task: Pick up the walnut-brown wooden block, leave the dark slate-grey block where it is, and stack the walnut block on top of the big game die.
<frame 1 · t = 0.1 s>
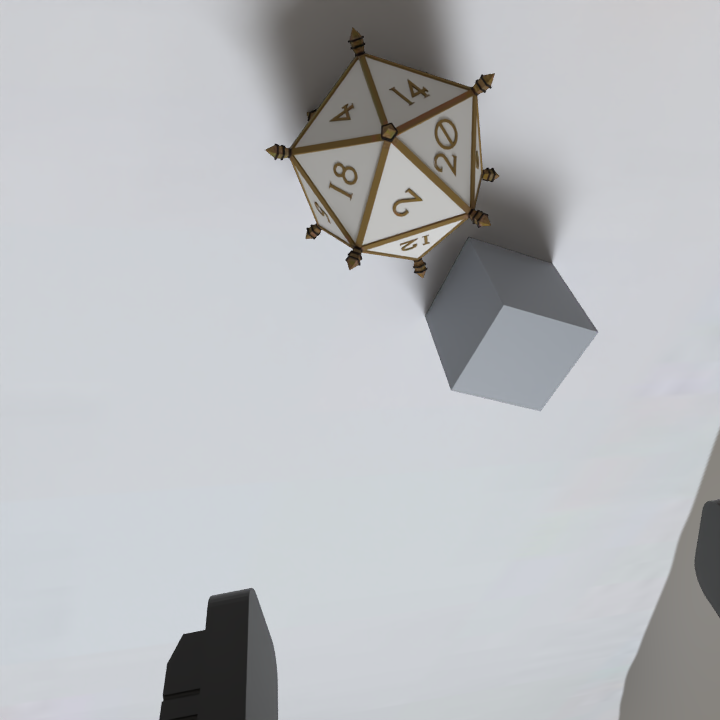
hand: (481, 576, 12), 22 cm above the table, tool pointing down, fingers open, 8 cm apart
slate block: (487, 290, 36), on the table
game die: (375, 125, 30), on the table
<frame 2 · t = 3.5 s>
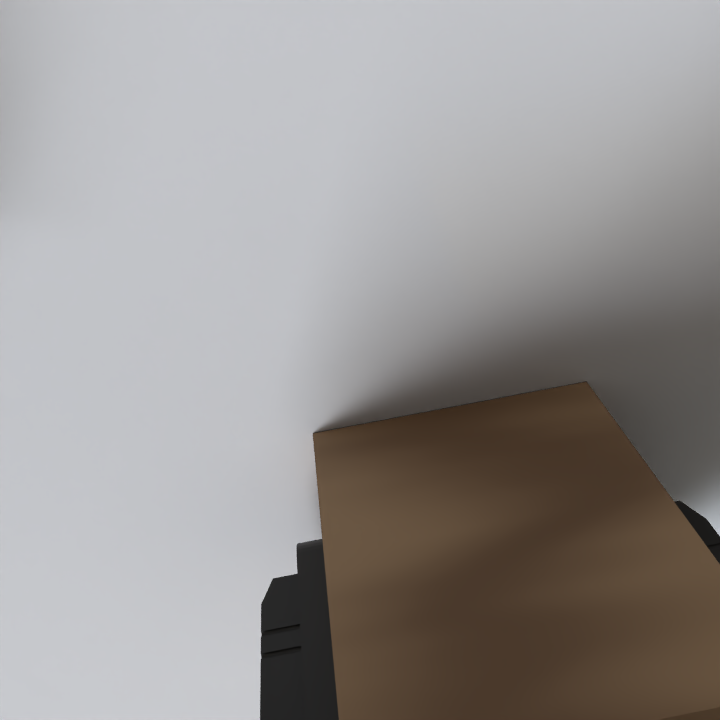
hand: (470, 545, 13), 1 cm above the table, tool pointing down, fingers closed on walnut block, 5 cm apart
walnut block: (459, 508, 14), on the table, touching gripper
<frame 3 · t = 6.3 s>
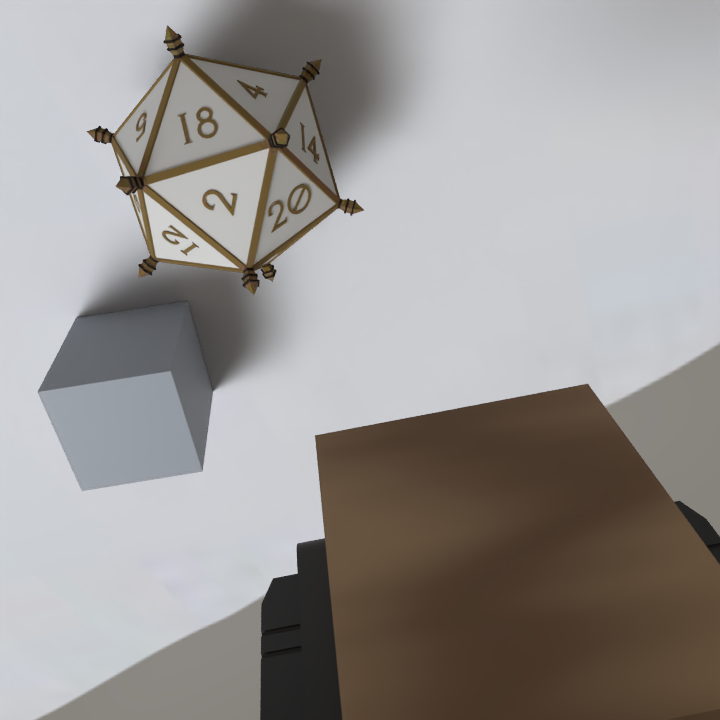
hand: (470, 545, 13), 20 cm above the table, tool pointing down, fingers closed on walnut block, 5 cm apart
slate block: (147, 355, 32), on the table
game die: (232, 142, 28), on the table
walnut block: (461, 510, 14), point 19 cm above the table, touching gripper
when the fingers open (10 cm above the table, at t = 9.2 s): walnut block drops 1 cm, resting on game die.
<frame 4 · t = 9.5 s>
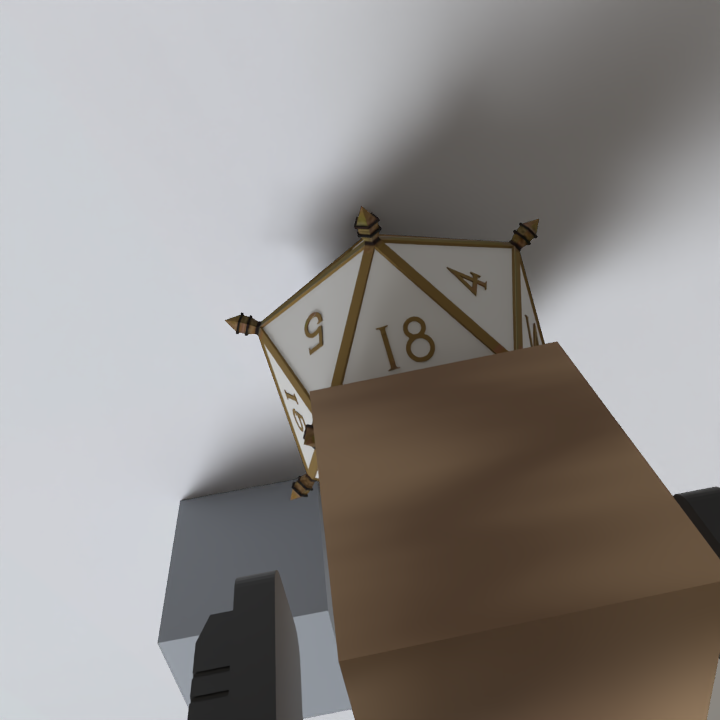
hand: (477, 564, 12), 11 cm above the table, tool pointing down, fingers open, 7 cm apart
slate block: (263, 535, 26), on the table
game die: (386, 296, 22), on the table, touching walnut block
walnut block: (445, 462, 15), point 8 cm above the table, touching game die
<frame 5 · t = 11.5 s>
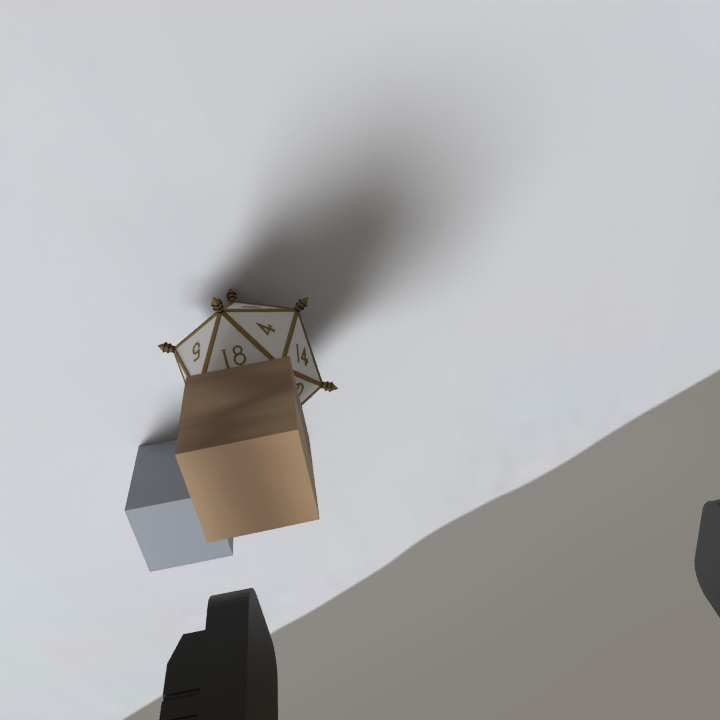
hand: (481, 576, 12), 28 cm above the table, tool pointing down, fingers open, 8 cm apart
slate block: (188, 468, 45), on the table
game die: (248, 331, 41), on the table, touching walnut block
walnut block: (250, 408, 34), point 8 cm above the table, touching game die
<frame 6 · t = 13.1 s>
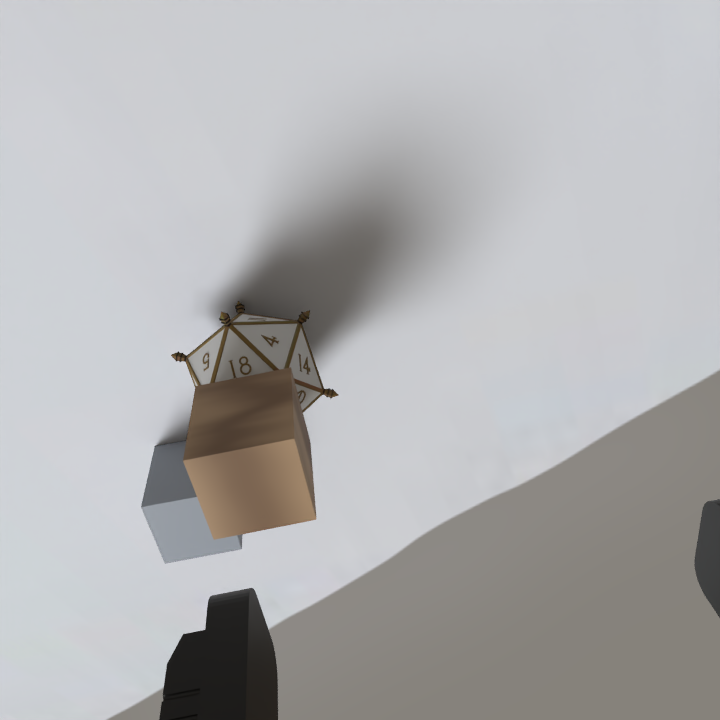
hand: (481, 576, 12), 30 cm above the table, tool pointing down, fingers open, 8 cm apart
slate block: (201, 466, 48), on the table
game die: (256, 340, 44), on the table, touching walnut block
walnut block: (255, 415, 37), point 8 cm above the table, touching game die
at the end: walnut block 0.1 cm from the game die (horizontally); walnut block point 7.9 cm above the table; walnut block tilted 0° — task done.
